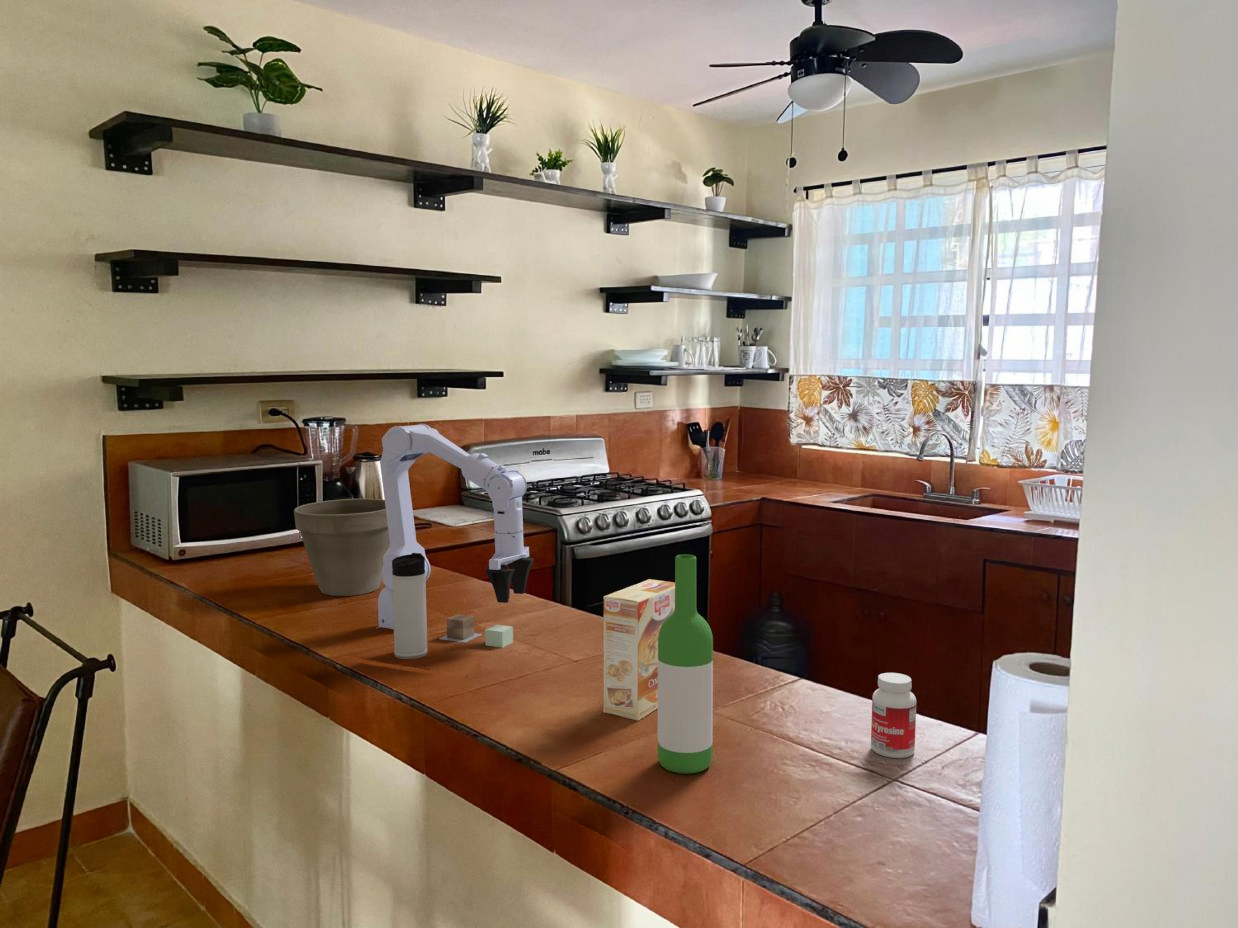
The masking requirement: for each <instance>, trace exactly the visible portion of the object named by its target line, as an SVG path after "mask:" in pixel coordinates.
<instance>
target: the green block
mask: <svg viewBox="0 0 1238 928" xmlns="http://www.w3.org/2000/svg"><path fill="white" fill-rule="evenodd" d="M484 635H485V639H484V640H485V641H484V642H485V646H489V647H495V648H503V649H504V647H507V646H508V645H509V646H510V645H511V644H513V643H514V626H510V625H502V624H494V625H492V626H490V627H487V628H486V629H484Z"/></svg>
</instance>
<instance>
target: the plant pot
mask: <svg viewBox="0 0 1238 928" xmlns="http://www.w3.org/2000/svg"><path fill="white" fill-rule="evenodd" d="M293 516H294V523H295V529H296V530H297V531H299V533H300V536H301V538H302V541H303V545H304V548H305V551H306V554H307V557H308V560H309V563H310V566H311V568H312V572H313V575H314V578H315V580H316V583H317V586H318V588H319V591H320V593H322V594H323V595H327V596H332V597H349V596H351V597H352V596H360V595H365V594H369V593H372V592H375V591H377V590H378V589H379V588H380V587H381V583H382V581H383V580H382V569H383V556H384V554H385V553H386V551H387V550H388V549H389V547H390V538H389V530H388V522H387V514H386V506H385V499H380V498H345V499H344V498H343V499H332V500H331V499H330V500H324V501H323V500H322V501H316V502H311V503H306V504H302V505H299V506H297V507H295V508H294V509H293Z"/></svg>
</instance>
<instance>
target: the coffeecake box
mask: <svg viewBox="0 0 1238 928" xmlns="http://www.w3.org/2000/svg"><path fill="white" fill-rule="evenodd" d="M674 610H675V581H674V582H673V581H666V580H658V579H651V578H648V579H646V580H643V581H641V582H639V583H637V584H633V585H630V586H627V587H625V588H623V589H620V590H617V591H614V592H612V593H609V594H607V595H604V596H603V713H605V714H608V715H614V716H618V717H621V718H626V719H629V720H634V721H640V720H642V719H643V718H645V717H646V716H648V715H650V714H651V713H653V712H654V711H656V710H658V637H659V632H660V628H661V626H662V624H663V623H664V621H665V620H666V619H667V618H668V617H669V616H670V615H672V614H673V613H674Z"/></svg>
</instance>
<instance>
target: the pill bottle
mask: <svg viewBox="0 0 1238 928" xmlns="http://www.w3.org/2000/svg"><path fill="white" fill-rule="evenodd" d="M877 686H878V688H877V689H876V690H875V691H874V692H873V693H872V702H871V725H870V726H871V730H870V731H871V735H870V746H871V749H872V751H874V753H876V754H878V755H880V756H883V757H886V758H892V759H904V758H905V759H906V758H909V757H911V756H912V755H913V754H914V753H915V749H916V724H917V723H916V719H917V698H916V696H915V694H914V693H913V692H912V691H911V690H912V678H911V677H910V676H909V675H907V674H903V673H899V672H898V673H897V672H884V673H880V674H878V676H877Z"/></svg>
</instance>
